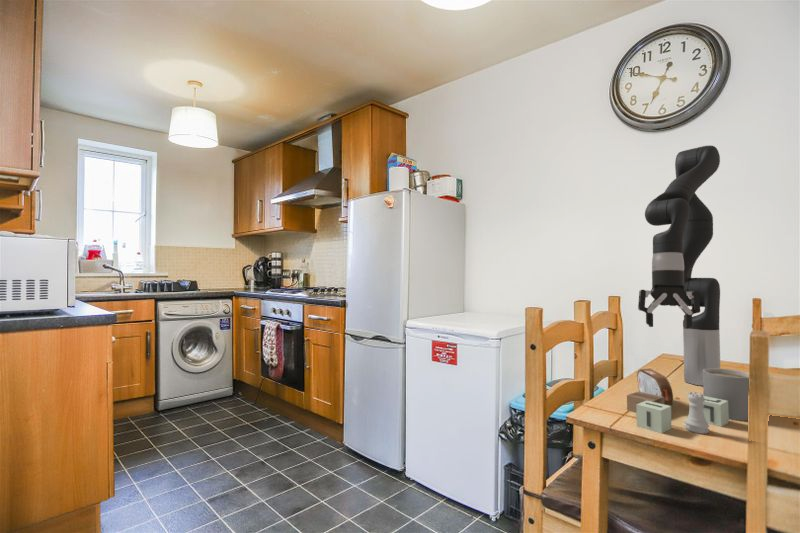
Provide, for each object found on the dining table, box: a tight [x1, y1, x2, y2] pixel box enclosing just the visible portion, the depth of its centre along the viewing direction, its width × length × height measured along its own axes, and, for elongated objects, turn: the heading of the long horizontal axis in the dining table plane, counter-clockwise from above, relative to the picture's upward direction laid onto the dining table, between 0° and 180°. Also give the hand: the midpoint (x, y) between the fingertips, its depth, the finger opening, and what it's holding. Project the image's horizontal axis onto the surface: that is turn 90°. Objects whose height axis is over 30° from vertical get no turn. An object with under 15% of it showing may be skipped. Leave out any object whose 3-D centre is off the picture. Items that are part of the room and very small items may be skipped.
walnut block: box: [626, 390, 665, 414], centre depth 100 cm, size 6×6×4 cm
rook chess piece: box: [684, 391, 711, 435], centre depth 87 cm, size 4×4×8 cm
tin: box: [636, 368, 674, 407], centre depth 106 cm, size 15×3×8 cm, turn 171°
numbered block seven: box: [703, 396, 730, 428], centre depth 93 cm, size 5×5×5 cm
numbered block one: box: [636, 401, 672, 435], centre depth 89 cm, size 5×5×5 cm
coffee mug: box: [702, 367, 750, 422], centre depth 99 cm, size 13×10×10 cm
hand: (668, 327), depth 111 cm, fingers open, 8 cm apart
